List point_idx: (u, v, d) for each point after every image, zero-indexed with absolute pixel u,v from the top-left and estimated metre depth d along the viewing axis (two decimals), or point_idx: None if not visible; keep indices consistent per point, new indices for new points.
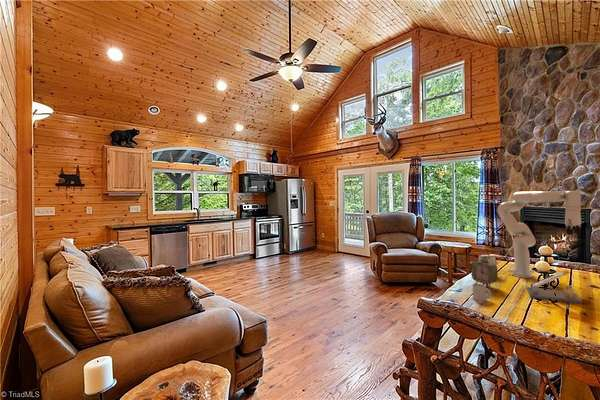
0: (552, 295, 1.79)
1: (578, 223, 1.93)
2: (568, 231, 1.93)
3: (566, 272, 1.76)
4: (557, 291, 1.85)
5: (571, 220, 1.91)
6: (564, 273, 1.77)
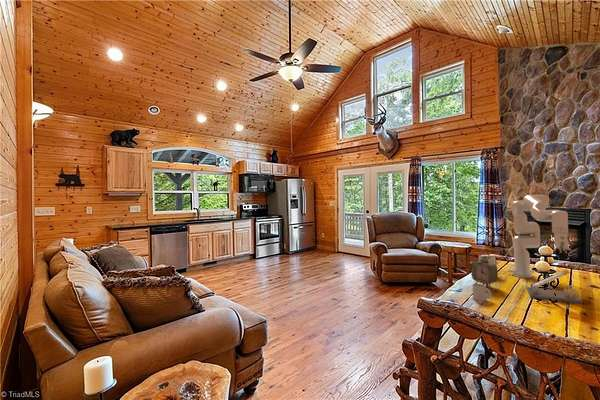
0: (552, 295, 1.79)
1: (556, 246, 1.80)
2: None
3: (566, 272, 1.76)
4: (557, 291, 1.85)
5: None
6: (564, 273, 1.77)
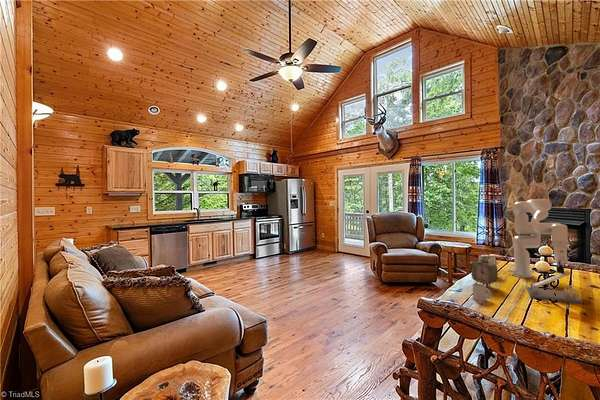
0: (552, 295, 1.79)
1: (556, 259, 1.79)
2: None
3: (567, 273, 1.76)
4: (557, 291, 1.85)
5: None
6: (565, 274, 1.77)
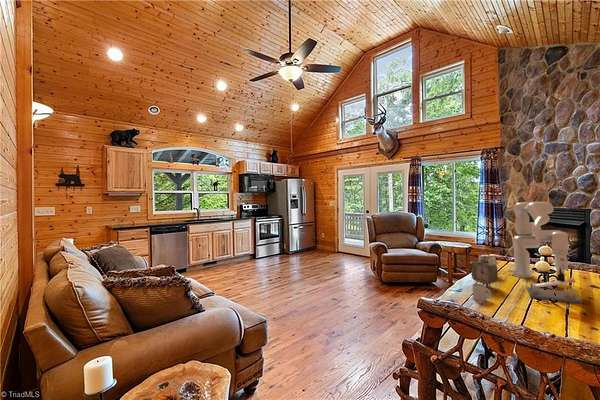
0: (552, 295, 1.79)
1: (556, 267, 1.79)
2: None
3: (572, 281, 1.75)
4: (557, 291, 1.85)
5: None
6: (570, 281, 1.76)
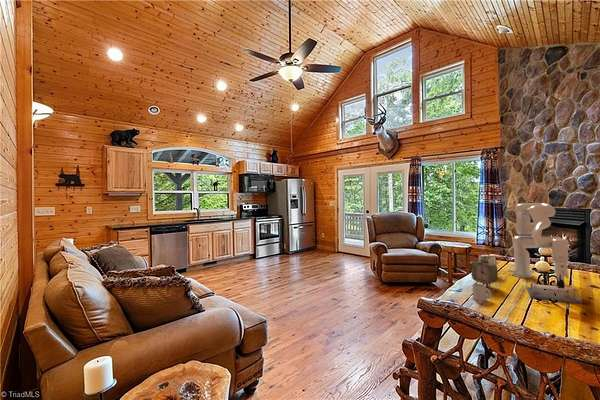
0: (552, 295, 1.79)
1: (556, 274, 1.80)
2: None
3: (574, 289, 1.75)
4: (557, 291, 1.85)
5: None
6: None
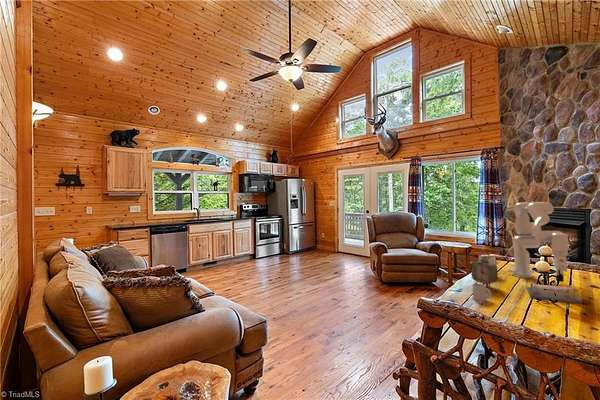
0: (552, 295, 1.79)
1: (555, 268, 1.80)
2: None
3: (574, 289, 1.75)
4: (557, 291, 1.85)
5: None
6: None
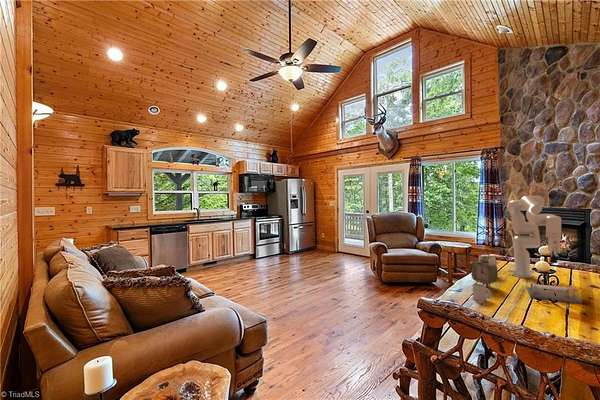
0: (552, 295, 1.79)
1: (549, 250, 1.87)
2: None
3: (574, 289, 1.75)
4: (557, 291, 1.85)
5: None
6: None
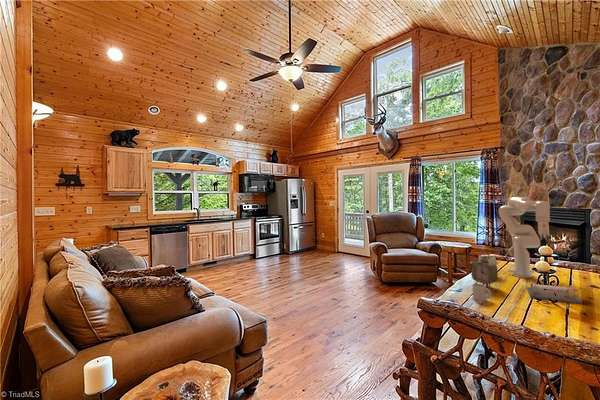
0: (552, 295, 1.79)
1: (539, 233, 2.00)
2: None
3: (574, 289, 1.75)
4: (557, 291, 1.85)
5: None
6: None
